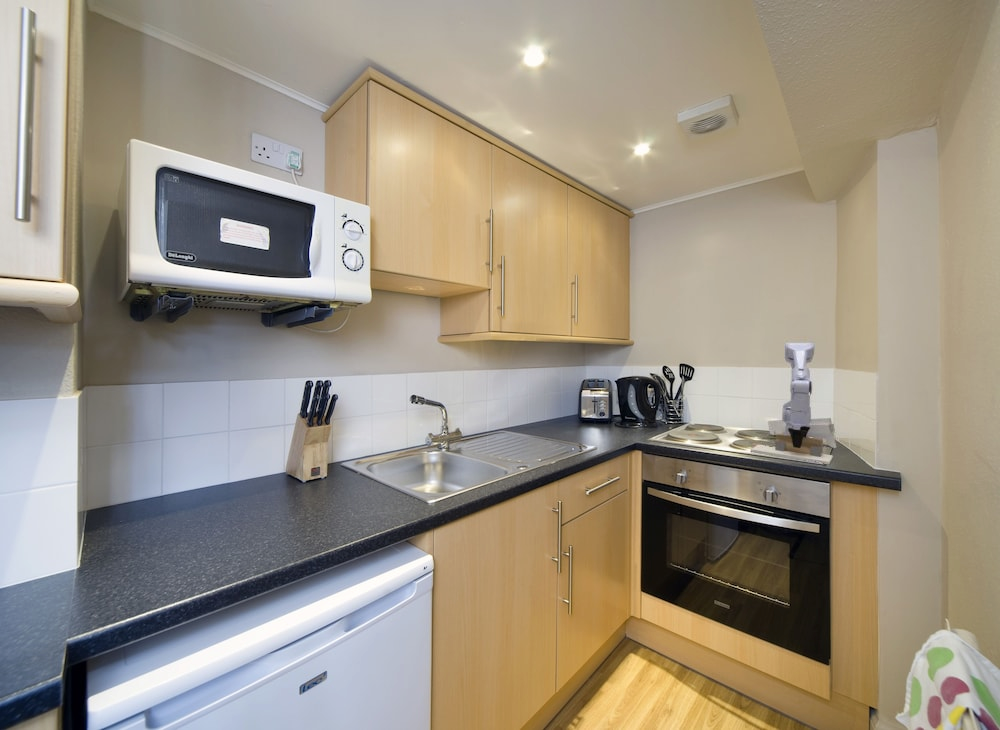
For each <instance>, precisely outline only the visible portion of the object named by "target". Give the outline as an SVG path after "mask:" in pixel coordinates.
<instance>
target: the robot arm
mask: <svg viewBox="0 0 1000 730" xmlns="http://www.w3.org/2000/svg"><path fill="white" fill-rule="evenodd" d="M814 355H815V343H813V342H788V341H787V342H786V343H785V346H784V359H785V362H786V363H789V364H790V366H791V381H790V385H789V386H790V388H789V389H790V390H789V391H790V400H789V401H787V402H784V404H783V405H782V412H781V413H782V414H781V416H782V417H781V420H783V422H785V423H786V428H785V435H791V438H792V443H793V447H795V448H801V445H802V441H803V437H806V435H807V433H808V431H809V429H810V427H807V426H809V425H810V422H811V419H812V411H811V410H812V409H811V406H810V404H811V395H812V393H813V381H812V379H811V376H810V371H811V370H810V369H809V368H808V367H807V364H808V363H811V362H812V361H813V358H814Z"/></svg>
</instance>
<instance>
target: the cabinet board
mask: <svg viewBox="0 0 1000 730" xmlns="http://www.w3.org/2000/svg"><path fill="white" fill-rule="evenodd" d="M769 446H770V445H766V446H765V444H757V445H754V446H753V447H752V448H751V449H750V453H756V454H760V455H761V454H762V455H765V456H766V455H768V456H774V457H780V458H786V459H793V460H797V459H798V461H803V460H808V461H807V462H810V461H818V462H822V463H824V465H830V464H831V462H832V460H833V458H834V455H833V454H825V453H822V456H821V447H816V446H811V453H810V455H809V454H802V453H796V452H789V451H785V442H780V441H775V446H773V447H769ZM823 449H824V447H823V444H822V451H824V450H823ZM822 463H821V464H822Z"/></svg>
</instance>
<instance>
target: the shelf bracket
mask: <svg viewBox="0 0 1000 730" xmlns="http://www.w3.org/2000/svg"><path fill="white" fill-rule="evenodd" d="M767 424H768V431H769V434H770V435H771V434H772V435H777V434H785V428H786V423H785V422H783V420H782V419H776V420H775V419H774V420H769V421H768V422H767ZM807 427H810V429H809V431H808V433H807V435H806V437H808V438H809V437H813V438H817V439H824V440H825V441H826V444H827V445H828V446H830V447H831V448H832V449H835V448H836V449H837V443H836V438H835V433H836V431H835V424H834V423H832V418H831V417H827V418H823V417H822V418H811V422H810V425H809V426H807Z"/></svg>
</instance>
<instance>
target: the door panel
mask: <svg viewBox="0 0 1000 730" xmlns="http://www.w3.org/2000/svg"><path fill="white" fill-rule="evenodd" d="M823 439H824V438H823ZM823 439H816V438H808V437H803V441H802V445H801V448H795V447H793V443H792V438H791V435H785V434H776V439H775V440H776V441H780V442H785V451H789V452H796V453H802V454H809V455H810V453H811V446H816V447H821V456H822V454H823V450H822V445H823V444H824V443H823V441H824V440H823ZM776 441H775V442H776Z"/></svg>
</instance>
